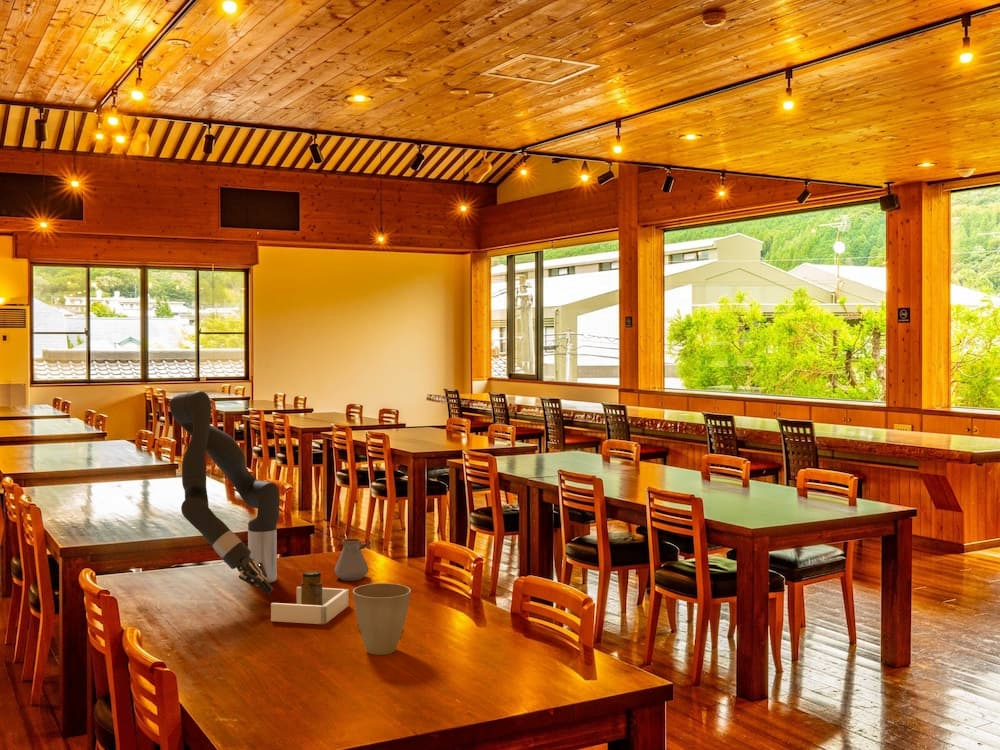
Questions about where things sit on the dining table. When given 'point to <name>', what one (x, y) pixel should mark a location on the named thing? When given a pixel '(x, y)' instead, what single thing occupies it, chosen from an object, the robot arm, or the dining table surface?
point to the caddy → (312, 608)
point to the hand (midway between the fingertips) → (270, 592)
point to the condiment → (311, 588)
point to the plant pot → (381, 615)
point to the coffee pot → (352, 561)
